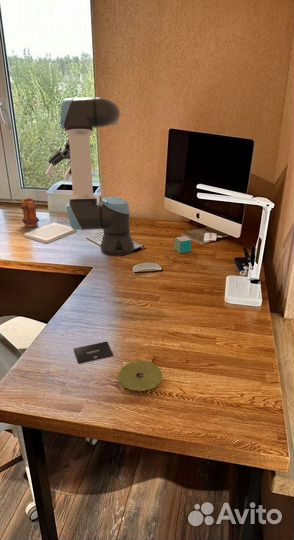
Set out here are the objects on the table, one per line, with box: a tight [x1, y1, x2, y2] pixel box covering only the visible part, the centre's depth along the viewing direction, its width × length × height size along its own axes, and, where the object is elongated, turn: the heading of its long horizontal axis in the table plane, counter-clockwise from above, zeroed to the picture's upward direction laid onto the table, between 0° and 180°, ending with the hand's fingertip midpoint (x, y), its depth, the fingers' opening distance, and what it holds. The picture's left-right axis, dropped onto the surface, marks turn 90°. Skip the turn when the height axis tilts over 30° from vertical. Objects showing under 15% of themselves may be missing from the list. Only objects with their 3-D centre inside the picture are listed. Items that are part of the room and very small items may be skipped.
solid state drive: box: [73, 341, 114, 364], centre depth 114 cm, size 7×10×1 cm
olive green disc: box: [117, 360, 163, 392], centre depth 103 cm, size 11×11×2 cm
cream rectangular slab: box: [23, 222, 78, 244], centre depth 199 cm, size 16×20×2 cm
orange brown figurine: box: [20, 197, 40, 228], centre depth 205 cm, size 15×8×15 cm, turn 25°
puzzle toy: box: [174, 235, 193, 254], centre depth 179 cm, size 6×6×6 cm
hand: (56, 177), depth 206 cm, fingers open, 13 cm apart
